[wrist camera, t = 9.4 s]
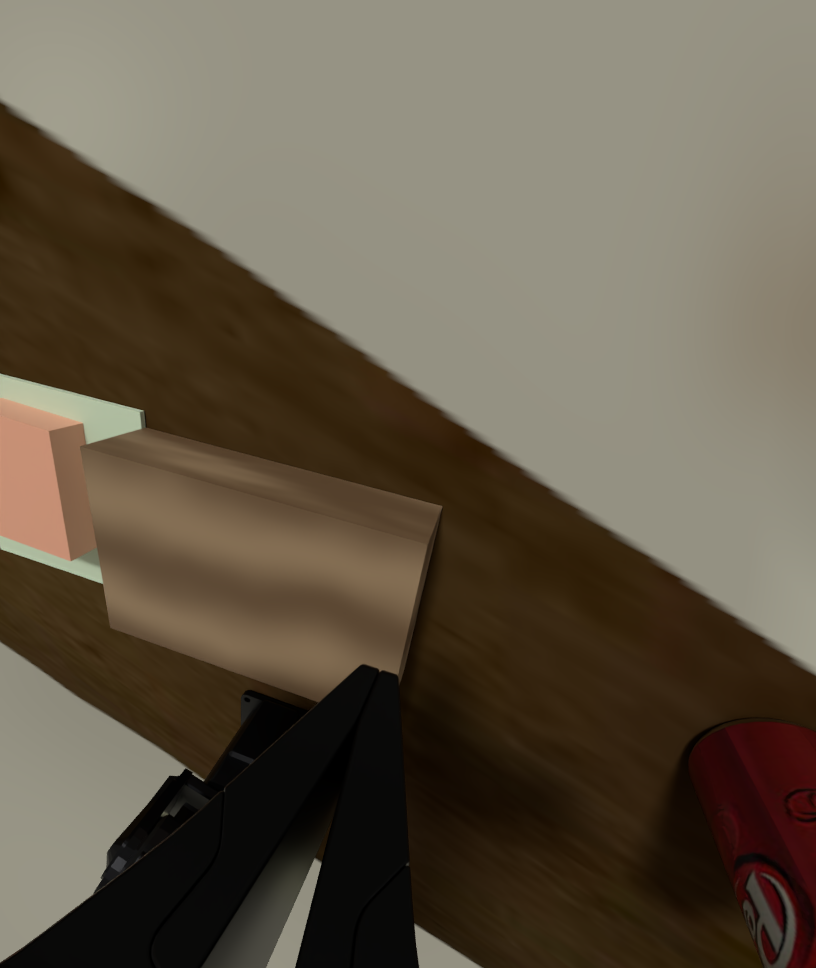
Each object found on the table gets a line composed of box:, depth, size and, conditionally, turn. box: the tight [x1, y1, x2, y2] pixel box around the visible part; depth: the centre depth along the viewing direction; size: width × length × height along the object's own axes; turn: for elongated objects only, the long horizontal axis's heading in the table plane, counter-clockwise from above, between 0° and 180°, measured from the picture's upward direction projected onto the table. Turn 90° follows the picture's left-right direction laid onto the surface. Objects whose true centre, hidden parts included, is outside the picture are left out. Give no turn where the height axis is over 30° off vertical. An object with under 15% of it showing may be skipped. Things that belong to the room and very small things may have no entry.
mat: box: [0, 374, 146, 584], centre depth 27 cm, size 14×14×1 cm
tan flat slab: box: [80, 428, 442, 702], centre depth 23 cm, size 12×18×4 cm, turn 80°
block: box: [0, 398, 97, 561], centre depth 26 cm, size 9×6×2 cm, turn 168°
